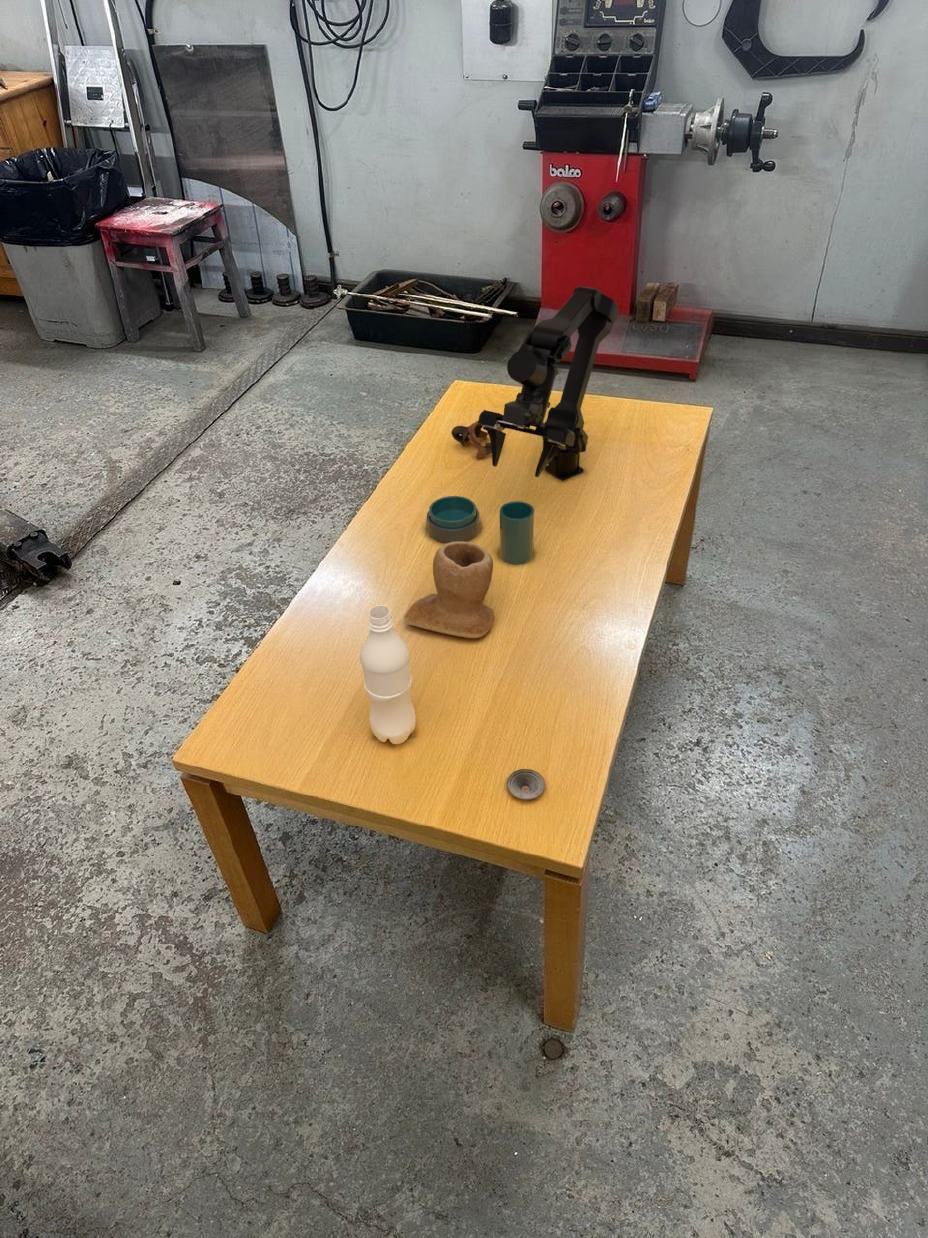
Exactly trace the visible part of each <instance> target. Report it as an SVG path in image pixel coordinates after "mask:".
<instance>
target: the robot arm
mask: <svg viewBox="0 0 928 1238" xmlns="http://www.w3.org/2000/svg"><path fill="white" fill-rule="evenodd" d="M618 316H619V306H618V304H617V303H616V301H615V299H613V298H612V297H610V296H607V295H606V294H603V292H602V291H601V290H600V289H598V288H595V287H588V286H582V285H579V286H576V287H575V288H574V289H573V292H572V295H571V296H570V297H569V299H568V300H567V301H566V302H565V303H564V304H563V306H562V307H561V308H560V309H559V310H558V311H557V313H556V314H555V315H554V316H553V317H551V318H548V319H543V320H541V321H540V322H538V323H537V324H536V325H535V326H533V328H532V329H531V330H530V331H529V333H528V335H527V336H526V338H525V339H524V340H523V342H522V344H521V346H520V347H519V349H518V351H516V352H515V353H513V354H512V355H511V356H510V358H509V359H508V361H507V364H506V369H507V371H506V372H507V374H508V376H509V377H510V379H512V380H513V381H515V382H517V383H518V384H520V385H521V390H520V392H518V393H517V395H516V398H515V400H511V401H509V402H507V403H504V407H503V414H502V413H500V412H495V411H491V410H487V409H484V410H482V412H481V413H480V414H479V416H478V419H477V421H478V423H479V424H481V425H484V426H483V427H482V430H483V431H484V430H485V431H486V432H487V433H488V437H489V443H491V451H492V453H491V462H492V463H491V465H492V467H495V468H496V467H497V466H498V463H499V461H500V458H501V454H502V451H503V447H504V443H505V440H506V437H507V433H506V432H503V431H504V430H506V429H507V430H513V431H516V432H521V433H526V434H530V435H533V436H537V437H542V450H541V453H540V456H539V459H538V462H537V465H536V468H535V473H534V477H535V478H539V477H540V475H542V473H543V471H547V472H548V473H550V474H551V475H553V476H554V477H556V478H557V479H559V480H560V481H565V480H567V479H569V478H572V477H574V476H577V475H580V474H582V473H584V472H585V471H584V470H585V469H584V468H583V467H581V466H580V461H581V460H580V459H581V453H585V452H587V445H588V441H589V435H588V434H587V433H586V431H585V430H584V427H585V426H584V425H585V420H584V417H583V413H582V410H581V409H582V405H583V402H584V398H585V395H586V391H587V388H588V384H589V381H590V377H591V374H592V371H593V367H594V363H595V360H596V357H597V353H598V349H599V347H600V343H601V342H602V341H603V340H604V339H605V338H606V337H608V335H609V334H611V331H612V328H613V326H614V324H615V323H616V321H617V319H618ZM576 331H577V333H578V337H577V341H576V344H575V348H574V351H573V355H572V357H571V361H570V366H569V369H568V373H567V376H566V379H565V384H564V386H563V390H562V394H561V397H560V401H559V402H558V403H557V404H556V405H555V407H553V406H552V407H550V406H551V402H550V398H551V395H552V391H553V388H554V387H553V386H554V383H555V380H556V376H558V375H559V368H558V367H557V364H556V363H559V362H561V361H562V360H563V359H564V358H565V357H566V356H567V355H568V354H569V352H570V350H571V348H572V336H573V334H574V333H575V332H576ZM549 408H550V409H549ZM548 409H549V410H548ZM547 410H548V413H547ZM546 414H547V417H546ZM545 417H546V420H545ZM544 421H545V422H544ZM531 427H534V428H535V429H534V428H531Z"/></svg>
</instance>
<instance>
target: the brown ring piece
mask: <svg viewBox="0 0 928 1238" xmlns="http://www.w3.org/2000/svg"><path fill="white" fill-rule="evenodd" d="M483 426H484V425H481V424H479V423H478V420H477V421H475V422H473V423H471V424H470V425H468V426H465V425H456V426H454V427H453V428H452V430H451V432H450V434H451V436H452V438H453V439H454V440H455V441H456V442H458V443H460V445H461V446H462V448H465V446H466V445H468V443H469V442H471V444H472V445H473V446H474V447H475V448H476V449H477V453H476V454H475V457H476V458H478V459H484V458H485V456H490V455H492V451H491V442H485V443H484V445H482V444H481V443H482V441H481V440H485V441H486V440H487V438H488V436H489V434H488V432H487V431H484V430H483ZM480 439H481V440H480Z"/></svg>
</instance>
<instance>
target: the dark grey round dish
mask: <svg viewBox="0 0 928 1238" xmlns="http://www.w3.org/2000/svg"><path fill="white" fill-rule="evenodd" d="M506 788H507V790H508V792H509V793H510V794H511V795H512V796H513V797H514V798H517V799H520V800H534V799H536V798H538V797H539V796H541V795H542V794H543V792H544V791H545V788H546V781H545V779H544V776H542V774H540V772H538V771H536V770H534V769H530V768H520V769H516V770H515V771H512V772H511V774H509V776H508V778H507V779H506ZM525 789H526V790H525Z"/></svg>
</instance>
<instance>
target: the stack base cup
mask: <svg viewBox="0 0 928 1238" xmlns="http://www.w3.org/2000/svg"><path fill="white" fill-rule="evenodd" d="M480 523H481V522H480V511H479V509H478V508H477V507H476V519H475V521H474V522H473V523H471V524H470V525H468V526H466V527H463V528H458V529H445V528H440V527H438V526H436V525H434V524H433V523H432V522H431V521H430V518H429V510H428V511H427V513H426V530H427V533H428V535H429V537H430V538H431V539H433V540H434V541H435V542H438V543H441V544H447V543H450V542H459V541H460V542H469V541H471V540H474V538H476V537H477V535H478V534H479V532H480V525H481V524H480Z"/></svg>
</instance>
